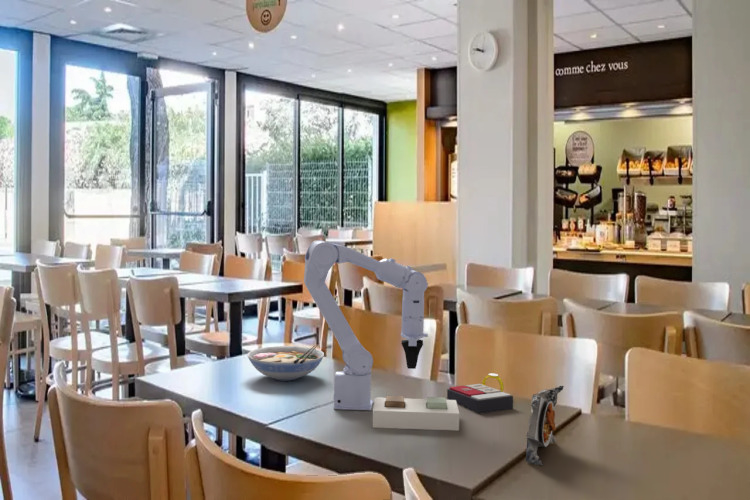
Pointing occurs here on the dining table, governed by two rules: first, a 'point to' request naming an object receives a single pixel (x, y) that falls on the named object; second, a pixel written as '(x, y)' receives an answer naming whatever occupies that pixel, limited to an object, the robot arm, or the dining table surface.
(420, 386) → the dining table surface
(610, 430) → the dining table surface
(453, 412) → the key panel
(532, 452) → the meal
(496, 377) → the watch
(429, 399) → the sage key
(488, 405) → the calculator
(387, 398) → the walnut key
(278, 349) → the ramen bowl
